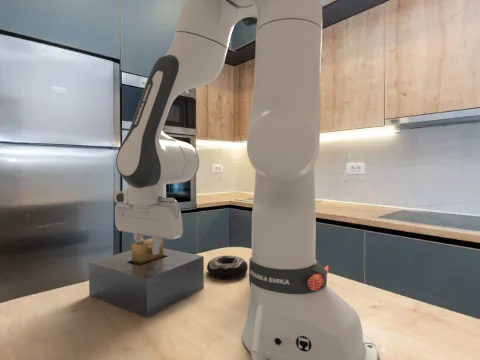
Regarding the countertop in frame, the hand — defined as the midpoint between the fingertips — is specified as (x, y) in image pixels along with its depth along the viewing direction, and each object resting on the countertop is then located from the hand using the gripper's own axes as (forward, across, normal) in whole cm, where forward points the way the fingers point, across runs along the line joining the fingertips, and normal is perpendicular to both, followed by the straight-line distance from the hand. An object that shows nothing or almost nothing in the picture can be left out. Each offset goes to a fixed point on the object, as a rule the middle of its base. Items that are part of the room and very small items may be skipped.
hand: (148, 252), depth 73 cm
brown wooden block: (+2, 0, 0) cm, 2 cm away
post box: (+10, 0, 0) cm, 10 cm away
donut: (+10, -9, -21) cm, 25 cm away
